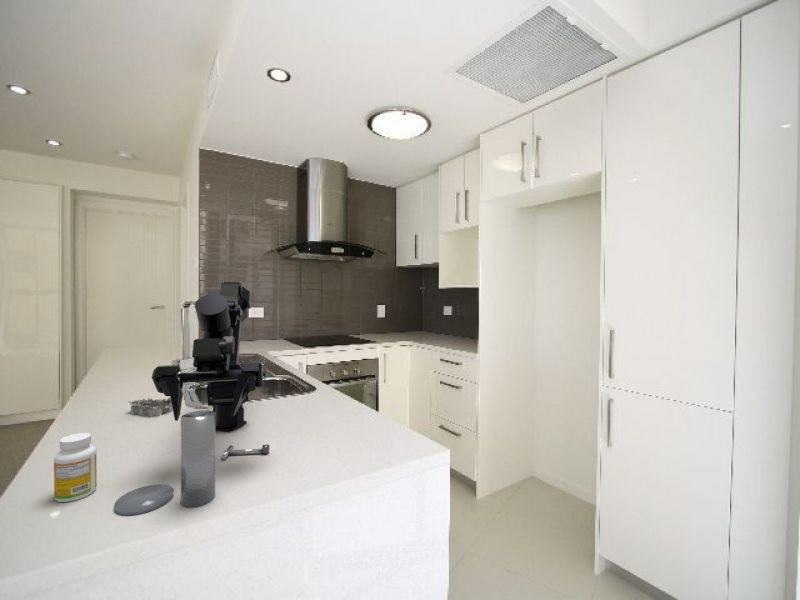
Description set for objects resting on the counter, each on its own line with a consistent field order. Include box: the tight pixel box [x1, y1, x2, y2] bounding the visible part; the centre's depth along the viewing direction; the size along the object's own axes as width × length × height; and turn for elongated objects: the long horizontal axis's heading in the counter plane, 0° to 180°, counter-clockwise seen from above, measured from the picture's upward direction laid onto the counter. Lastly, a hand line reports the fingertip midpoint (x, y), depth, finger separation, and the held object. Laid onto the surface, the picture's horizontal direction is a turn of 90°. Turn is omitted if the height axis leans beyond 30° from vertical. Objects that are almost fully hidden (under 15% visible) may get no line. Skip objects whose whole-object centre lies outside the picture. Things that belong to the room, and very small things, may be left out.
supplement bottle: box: [53, 432, 98, 503], centre depth 62 cm, size 5×5×10 cm
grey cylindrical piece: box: [180, 409, 216, 509], centre depth 61 cm, size 5×5×14 cm
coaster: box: [113, 484, 174, 516], centre depth 60 cm, size 8×8×1 cm
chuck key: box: [220, 444, 270, 461], centre depth 78 cm, size 9×5×2 cm, turn 98°
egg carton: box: [127, 396, 173, 418], centre depth 104 cm, size 11×8×4 cm
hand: (205, 417), depth 66 cm, fingers open, 9 cm apart
